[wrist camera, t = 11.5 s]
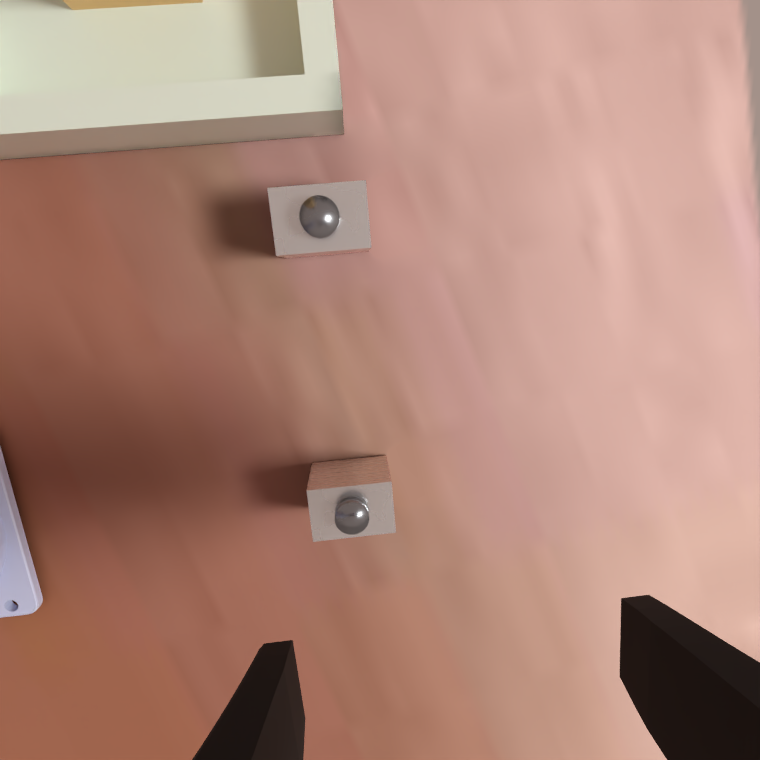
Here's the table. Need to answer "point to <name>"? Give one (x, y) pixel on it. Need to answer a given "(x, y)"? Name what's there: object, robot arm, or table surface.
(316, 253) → the blocks with metal balls
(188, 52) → the parts tray
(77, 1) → the tan and grey block
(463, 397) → the table surface
